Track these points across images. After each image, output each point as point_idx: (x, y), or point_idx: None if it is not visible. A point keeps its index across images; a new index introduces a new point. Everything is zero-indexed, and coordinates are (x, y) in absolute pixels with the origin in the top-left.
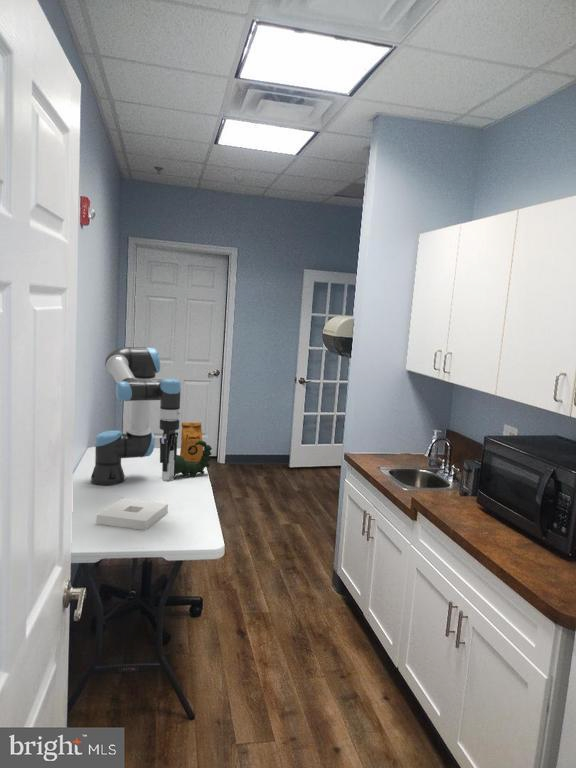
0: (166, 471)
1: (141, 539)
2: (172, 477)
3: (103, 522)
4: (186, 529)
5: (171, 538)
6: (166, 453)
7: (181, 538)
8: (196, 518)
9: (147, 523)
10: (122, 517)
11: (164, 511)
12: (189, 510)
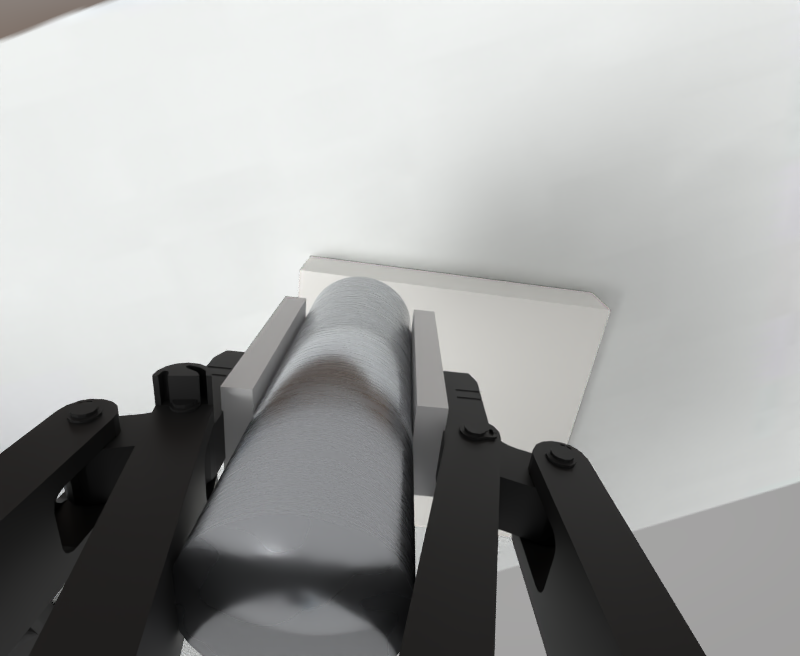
0: (462, 374)
1: (715, 277)
2: (369, 289)
3: None
4: (567, 61)
5: (711, 119)
6: (641, 598)
7: (714, 55)
8: (367, 41)
9: (583, 300)
10: (563, 434)
11: (354, 267)
12: (238, 130)
